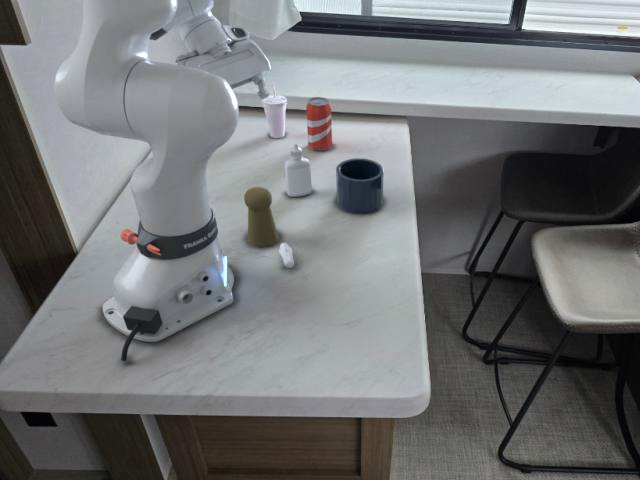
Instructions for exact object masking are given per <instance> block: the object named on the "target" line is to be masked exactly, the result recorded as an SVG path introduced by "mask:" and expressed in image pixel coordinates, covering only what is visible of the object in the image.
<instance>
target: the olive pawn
mask: <svg viewBox="0 0 640 480" xmlns="http://www.w3.org/2000/svg"><path fill="white" fill-rule="evenodd" d="M243 201H244V204H245V207H247V209H248V210H247V213H248V214H247V242H248V243H249V244H250V245H252V246H253V247H257V248H268V247H271V246H273V245H275V244H276V243H277V242H278V240H279V234H278V231H277V226H276V222H275V219H274V216H273V211H272V208H271V206H272V203H273V202H272V201H273V195H272V193H271V191H269V190H268V188H266V187H262V186H254V187H251V188H249V189H247V190H246V191H245V193H244V195H243Z"/></svg>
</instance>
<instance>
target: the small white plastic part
mask: <svg viewBox="0 0 640 480" xmlns="http://www.w3.org/2000/svg"><path fill="white" fill-rule="evenodd" d="M278 253H279V255H280V257H281V259H282V261H283V265H284V267H285V268H286V269H291V268H293V267H294V266H295V260H294V256H293V247H290V245H289V244H288V243H287V242H282V243H280V244H279V249H278Z"/></svg>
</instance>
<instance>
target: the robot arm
mask: <svg viewBox="0 0 640 480" xmlns="http://www.w3.org/2000/svg"><path fill="white" fill-rule="evenodd" d="M216 1H217V0H82V23H81V30H80V34H79V35H80V36H79V39H78V42H77V44H76V47H75V48H74V49H73V52H72V53H71V54H70V55H69V57H67V58H66V59H65V60H64V61H63V62H62V63H61V64H60V66H59V67H58V69H57V71H56V73H55V77H54V82H53V91H54V97H55V101H56V104H57V106H58V108H59V110H60V112H61V113H62V115H63V116H64V117H65V118H66V119H67V120H68V121H69V122H71V123H72V124H74V125H75V126H78V127H81V128H83V129H86V130H88V131H91V132H94V133H96V134H99V135H102V136H108V137H113V138H120V139H128V140H132V141H133V140H134V141H135V140H136V141H140V142H144V143H147V144H148V145H149V147H150V149H151V152H152V156H151V157H150V158H147V159H145V160H144V161H142V162H141V163H140V164H138V165H137V167H135V169H134V170H133V172H132V175H131V179H130V185H129V186H130V191H131V194H132V197H133V201H134V204H135V207H136V210H137V215H138V217H139V221H138V228H137V233H136V232H133V231H132V230H131V229H128V228H126V229H123V230H122V231H121V232H120V237H119V238H120V239H121V241H123V242H124V243H127V244H128V245H136V246H135V248H134V249H133V251H131V254H130V255H128V257H127V259H126V260H125V262H124V264H123V265H122V266H121V268H120V269H119V270H118V272H117V273H116V274H115V275H114V277H113V278H112V284H111V285H112V287H111V288H112V296H111V297H110V298H109V299H107V300H106V301H105V302H104V303H103V304H102V313H103V316H104V319H105V320H106V321H107V322H108V324H109V325H110V326H112V327H113V328H114V329H115V330H117V331H118V332H119V333H122V335H124V336H126V337H127V338H126V340H125V342H124V344H123V347H122V351H121V358H120V361H123V362H126V361H127V359H128V352H129V348H130V346H131V344H132V341H133V340H136V341H140V342H147V343H148V342H149V343H157V342H160V341H163V340H165V339H166V338H168V337H170V336H172V335H174V334H176V333H177V332H178V333H179V332H180V331H181V330H183V329H185V328H187V327H189V326H191V325H193V324H195V323H197V322H199V321H201V320H203V319H205V318H206V317H209V316H210V315H212V314H215V313H216V312H218V311H220V310H222V309H224V308H227V307H228V306H230V305H232V304H233V303H234V295H233V292H232V290H233V287H234V283H235V275H234V273H233V271H232V269H231V268H230V266H229V264H228V258H227V255H225V256H224V253H223V250H222V247H221V244H220V240H219V238H218V234H219V229H218V224H217V222H218V221H217V218H216V215H215V212H214V210H213V209H212V207H211V202H210V196H209V189H208V181H207V170H208V164H209V162H210V159H211V157H212V156H213V155H214V153H215V152H216V151H217V150H218V149H220V148H221V147H223V146H225V144H226V143H227V142H228V141H229V140H230V139H231V138H232V136H234V134H235V132H236V129H237V126H238V123H239V118H240V111H239V102H238V99H237V96H236V94H235V91H234V89H236V88H240V87H242V86H244V85H246V84H249V83H252V82H253V84H254V85H255V86H257V88H258V92H257V93H256V94H257V95H258V97H259V99H260V100H262V99H265V98H267V97H268V96H269V95H270V92H269V91H268V89H267V88H266V81H265V77H266V76H267V75H268V74H269V73H270V71H271V69H272V67H271V62H270V61H269V59H268V57H267V56H266V54H265V53H264V51H263V50H262V49H261V47H260V46H259V45H258V43H256V42H255V41H254V40H252V39H250V37H251V36H250V32H249V31H248V30H247V28H245V27H239V26H231V25H226V24H222V23H221V22H220V20H219V19H218V18H217V17H215V15H214V14H213V13H212V9H214V8H215V4H216ZM172 30H175V31H176V32H177V33H178V34H179V37H180V39H181V41H182V44H183V45H184V46H185V48H186V49H187V51H188V52H187V53H185V54H179V55H178V56H176V60H175V62H174V63H169V62H168V63H167V62H160V61H152V60H150V56H149V43H150V41H157V40H159V39H160V38H162V37H164V36H165V35H166V34H168V33H169V32H170V31H172Z"/></svg>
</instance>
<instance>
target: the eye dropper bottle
mask: <svg viewBox="0 0 640 480" xmlns="http://www.w3.org/2000/svg"><path fill="white" fill-rule="evenodd" d="M283 167H284V179H285V180H284V181H285V189H286V194H287V195H288V196H289V197H290V198H299V197H303V196H307V195H309V194H311V193H312V191H313V186H312V185H313V183H312V168H311V162H310V161H309V159H308V158H306V157H303V149H302V148H301V147H299V145H298V142H294V143H293V147H291V148H290V158H289V159H288V160H286V161H285V162H284V165H283Z"/></svg>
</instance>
